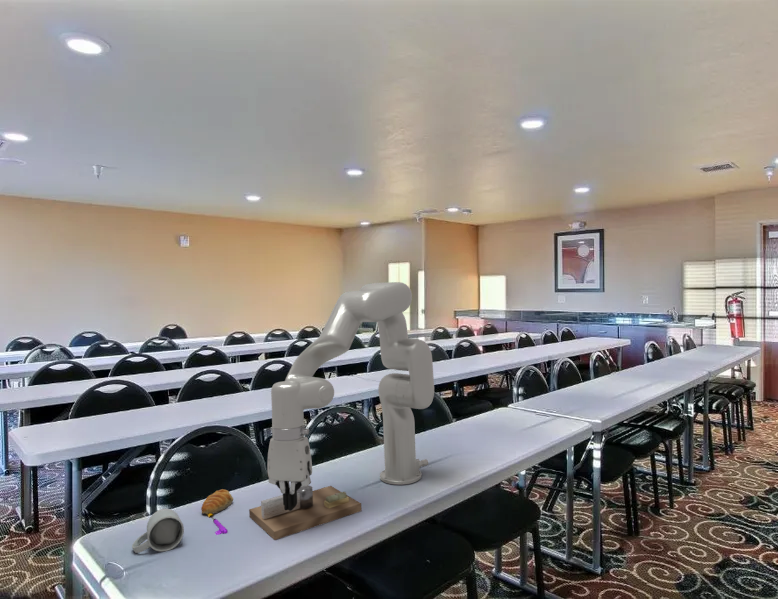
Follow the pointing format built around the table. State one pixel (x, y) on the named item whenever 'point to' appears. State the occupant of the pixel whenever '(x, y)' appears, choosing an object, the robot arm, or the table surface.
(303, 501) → the ball-ended lever
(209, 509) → the pastry
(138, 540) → the ceramic mug
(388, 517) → the table surface
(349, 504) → the brown wooden board
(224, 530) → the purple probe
